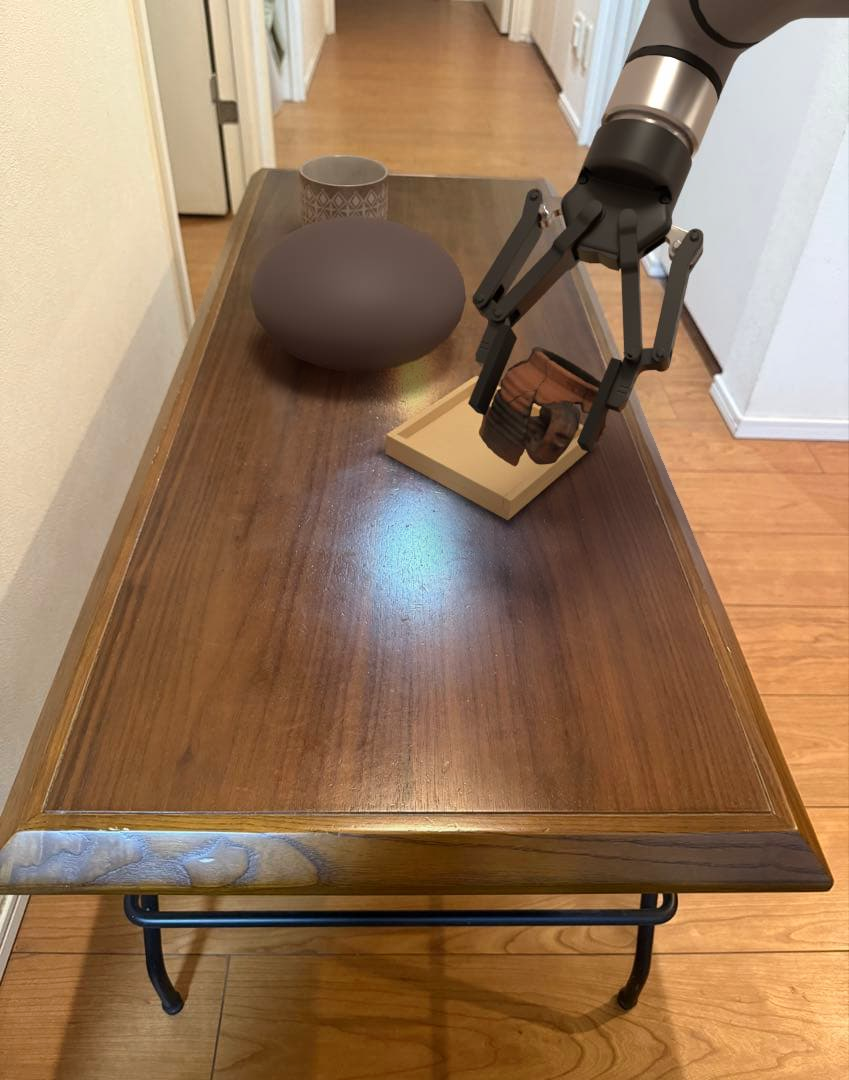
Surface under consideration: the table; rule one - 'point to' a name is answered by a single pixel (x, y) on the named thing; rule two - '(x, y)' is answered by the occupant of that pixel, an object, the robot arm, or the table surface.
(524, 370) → the pottery mug
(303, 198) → the planter
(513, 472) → the wooden tray
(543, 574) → the table surface
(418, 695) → the table surface
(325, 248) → the smooth stone
